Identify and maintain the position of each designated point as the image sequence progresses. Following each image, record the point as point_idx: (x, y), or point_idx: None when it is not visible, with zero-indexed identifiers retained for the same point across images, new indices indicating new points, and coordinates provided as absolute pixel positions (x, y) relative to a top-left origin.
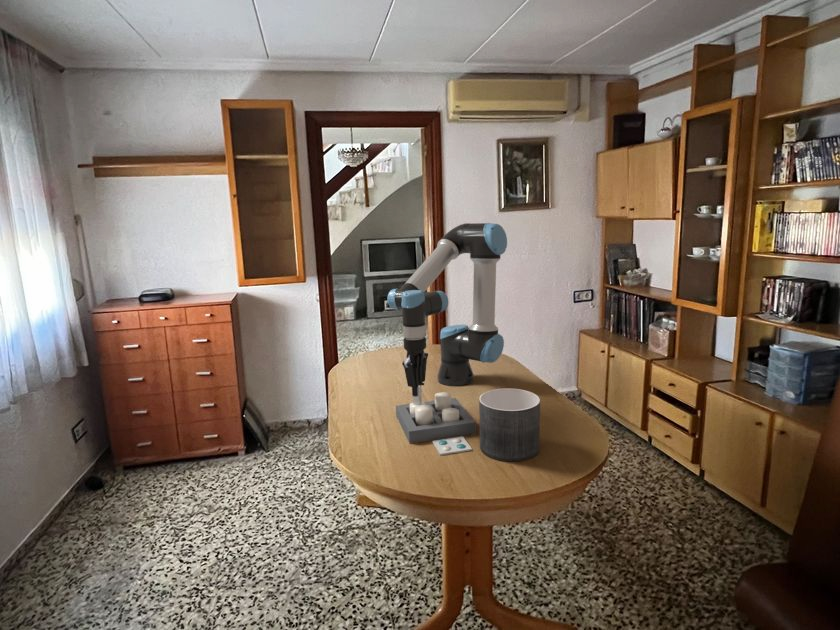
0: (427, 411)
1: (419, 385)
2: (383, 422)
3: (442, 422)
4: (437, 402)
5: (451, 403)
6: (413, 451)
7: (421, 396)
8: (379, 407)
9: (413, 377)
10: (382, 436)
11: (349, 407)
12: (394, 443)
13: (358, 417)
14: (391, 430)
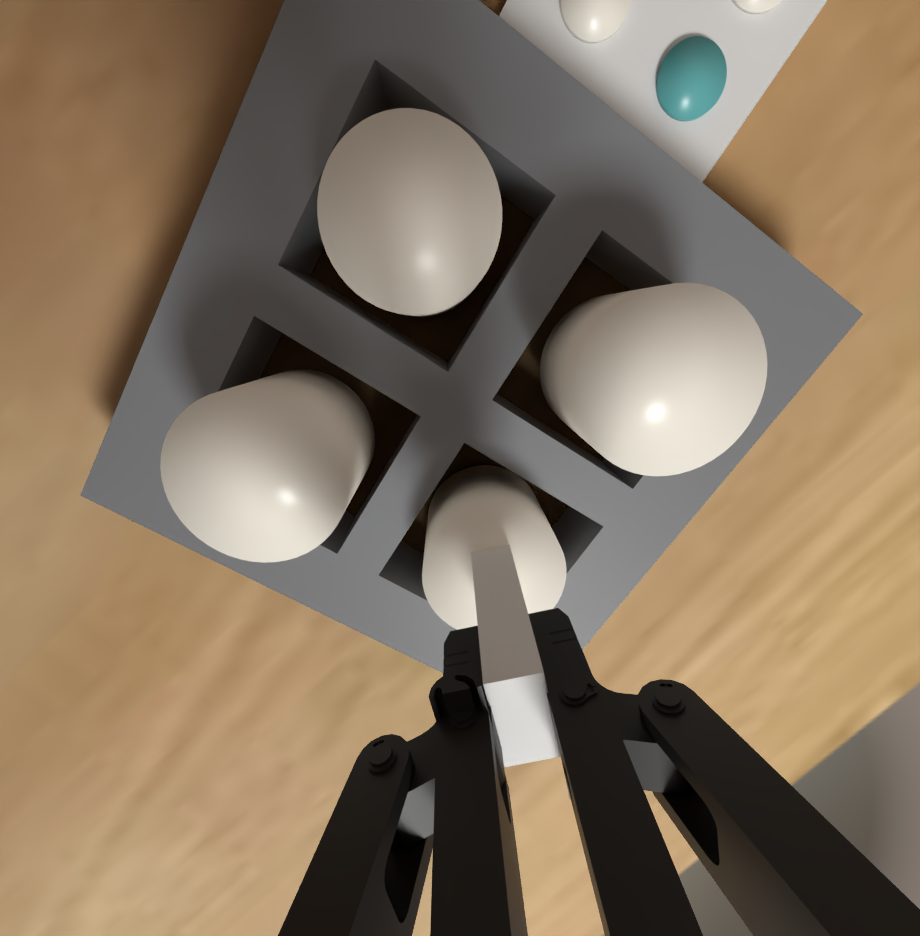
0: (717, 289)
1: (490, 706)
2: (626, 650)
3: (560, 202)
4: (359, 461)
5: None
6: (878, 199)
7: (478, 593)
8: None
9: (804, 859)
10: (783, 522)
11: (583, 884)
12: (831, 396)
13: None
14: (688, 541)
